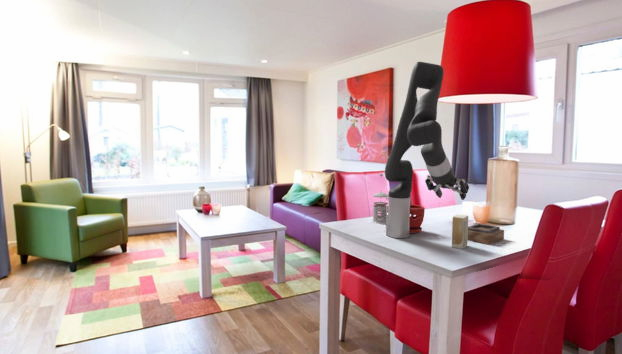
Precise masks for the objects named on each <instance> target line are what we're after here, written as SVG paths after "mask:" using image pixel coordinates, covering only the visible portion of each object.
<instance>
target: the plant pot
mask: <svg viewBox="0 0 622 354" xmlns="http://www.w3.org/2000/svg"><path fill="white" fill-rule="evenodd" d="M425 212H426V211H425V206H424V205H423V206H422V205H419V204H410V229H409V234H417V233H420V232H421V231H422V230H423V227H421V226H422V224H423V222H424V219H425Z"/></svg>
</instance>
